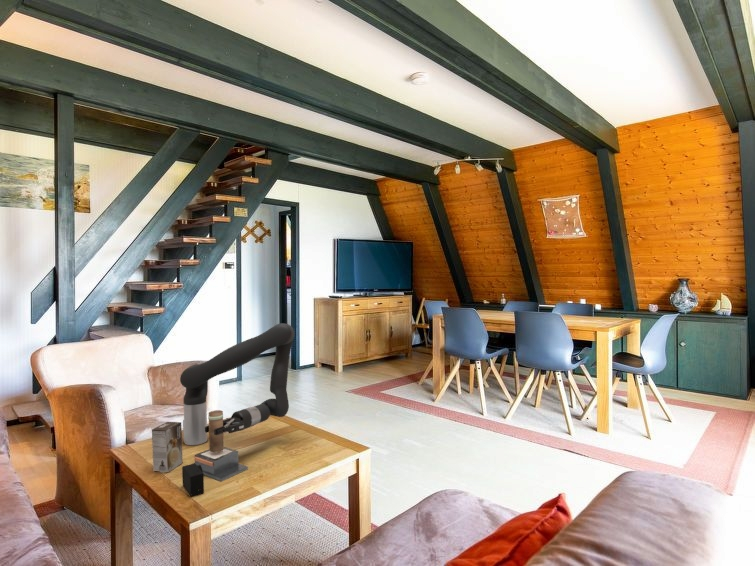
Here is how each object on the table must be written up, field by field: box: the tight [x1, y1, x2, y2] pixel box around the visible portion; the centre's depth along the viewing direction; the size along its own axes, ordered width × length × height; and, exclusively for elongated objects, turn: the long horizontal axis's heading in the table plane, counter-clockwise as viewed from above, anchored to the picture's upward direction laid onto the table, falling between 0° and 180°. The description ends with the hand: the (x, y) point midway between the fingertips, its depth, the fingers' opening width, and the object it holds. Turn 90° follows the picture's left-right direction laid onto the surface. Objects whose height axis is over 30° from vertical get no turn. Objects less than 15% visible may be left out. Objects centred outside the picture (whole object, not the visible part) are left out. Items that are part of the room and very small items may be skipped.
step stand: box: [192, 446, 249, 482], centre depth 175 cm, size 20×12×6 cm, turn 57°
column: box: [207, 409, 225, 452], centre depth 174 cm, size 5×5×14 cm
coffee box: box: [151, 421, 184, 473], centre depth 176 cm, size 9×6×16 cm
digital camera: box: [181, 462, 205, 498], centre depth 159 cm, size 10×5×7 cm, turn 37°
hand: (210, 431), depth 172 cm, fingers closed on column, 4 cm apart
